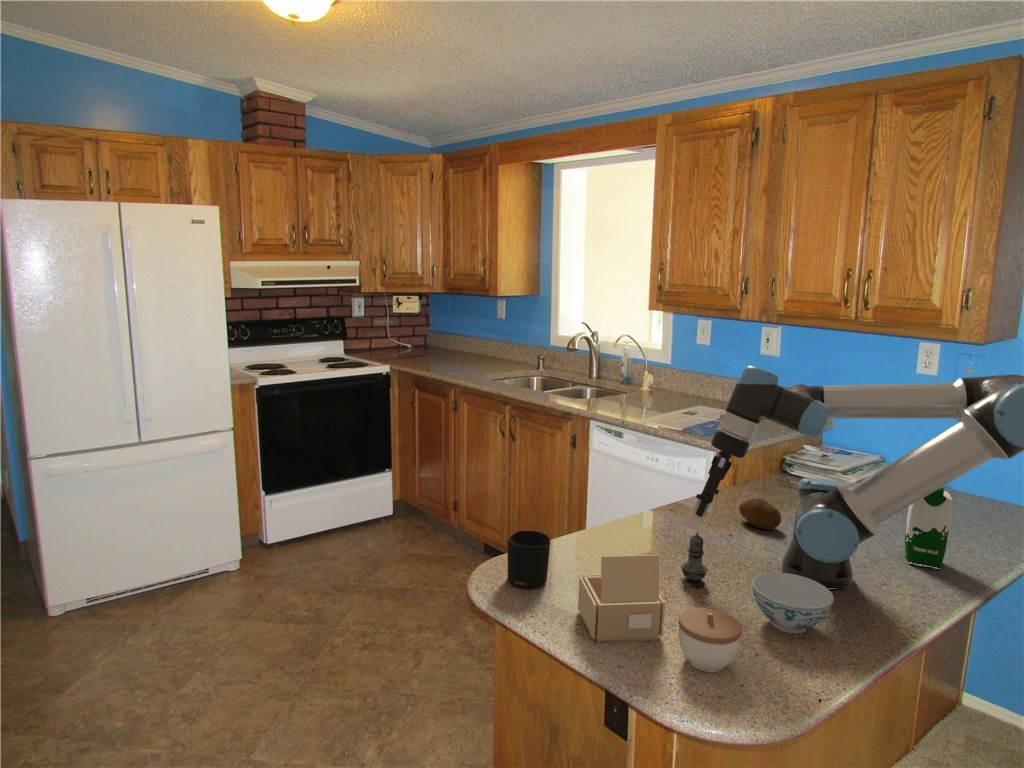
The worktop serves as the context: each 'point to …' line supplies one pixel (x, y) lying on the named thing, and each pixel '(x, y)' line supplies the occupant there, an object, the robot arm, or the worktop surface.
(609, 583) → the flap
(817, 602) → the chinaware
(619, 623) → the carton
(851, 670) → the worktop surface
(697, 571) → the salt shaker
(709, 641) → the lidded jar
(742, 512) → the potato
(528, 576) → the pen holder
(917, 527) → the milk carton
